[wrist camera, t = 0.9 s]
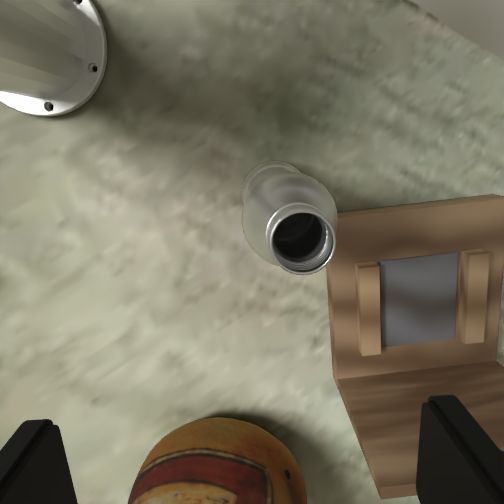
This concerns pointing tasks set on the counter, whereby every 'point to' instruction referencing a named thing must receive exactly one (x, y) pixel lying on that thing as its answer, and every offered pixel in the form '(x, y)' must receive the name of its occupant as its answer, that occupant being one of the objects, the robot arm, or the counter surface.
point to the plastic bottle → (289, 218)
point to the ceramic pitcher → (219, 467)
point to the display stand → (416, 323)
